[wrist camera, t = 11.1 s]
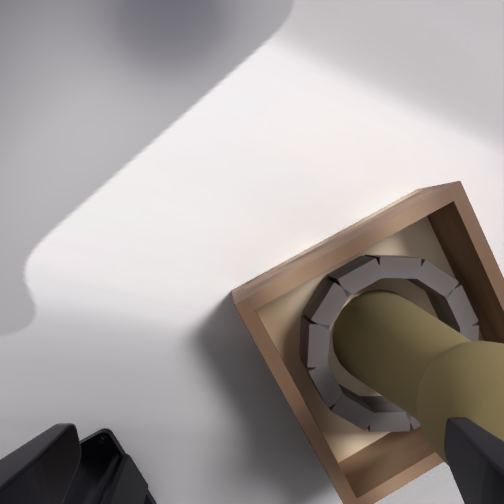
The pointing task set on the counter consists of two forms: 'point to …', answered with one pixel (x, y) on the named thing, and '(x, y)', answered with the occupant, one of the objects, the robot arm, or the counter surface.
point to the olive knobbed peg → (421, 364)
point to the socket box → (338, 295)
